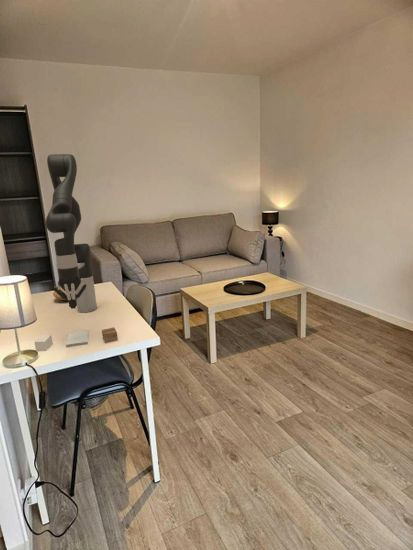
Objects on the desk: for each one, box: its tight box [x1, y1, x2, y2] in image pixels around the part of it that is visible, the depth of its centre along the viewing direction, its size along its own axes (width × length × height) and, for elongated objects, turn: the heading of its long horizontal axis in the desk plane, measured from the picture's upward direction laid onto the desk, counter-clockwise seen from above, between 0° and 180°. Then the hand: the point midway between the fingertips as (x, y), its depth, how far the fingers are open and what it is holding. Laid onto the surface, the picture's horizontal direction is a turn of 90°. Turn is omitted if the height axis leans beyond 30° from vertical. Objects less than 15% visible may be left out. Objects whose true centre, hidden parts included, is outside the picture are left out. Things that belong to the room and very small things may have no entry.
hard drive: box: [65, 329, 90, 348], centre depth 148 cm, size 2×8×12 cm
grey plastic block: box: [34, 334, 54, 352], centre depth 142 cm, size 6×4×4 cm, turn 1°
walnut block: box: [101, 326, 119, 344], centre depth 146 cm, size 5×5×4 cm
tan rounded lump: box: [52, 287, 72, 302], centre depth 200 cm, size 8×22×15 cm
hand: (73, 308), depth 144 cm, fingers closed
